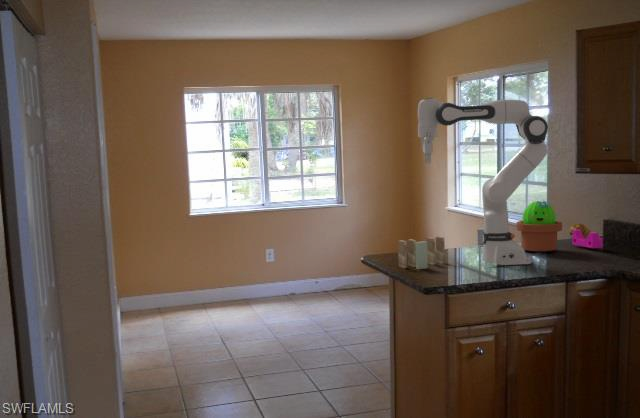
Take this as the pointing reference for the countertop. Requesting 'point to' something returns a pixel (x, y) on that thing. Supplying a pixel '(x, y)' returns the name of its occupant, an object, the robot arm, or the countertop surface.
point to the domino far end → (402, 253)
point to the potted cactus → (539, 227)
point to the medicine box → (480, 236)
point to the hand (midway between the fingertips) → (428, 163)
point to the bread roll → (582, 227)
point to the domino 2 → (431, 250)
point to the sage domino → (421, 255)
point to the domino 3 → (440, 250)
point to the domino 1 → (412, 252)
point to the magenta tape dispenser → (587, 239)
